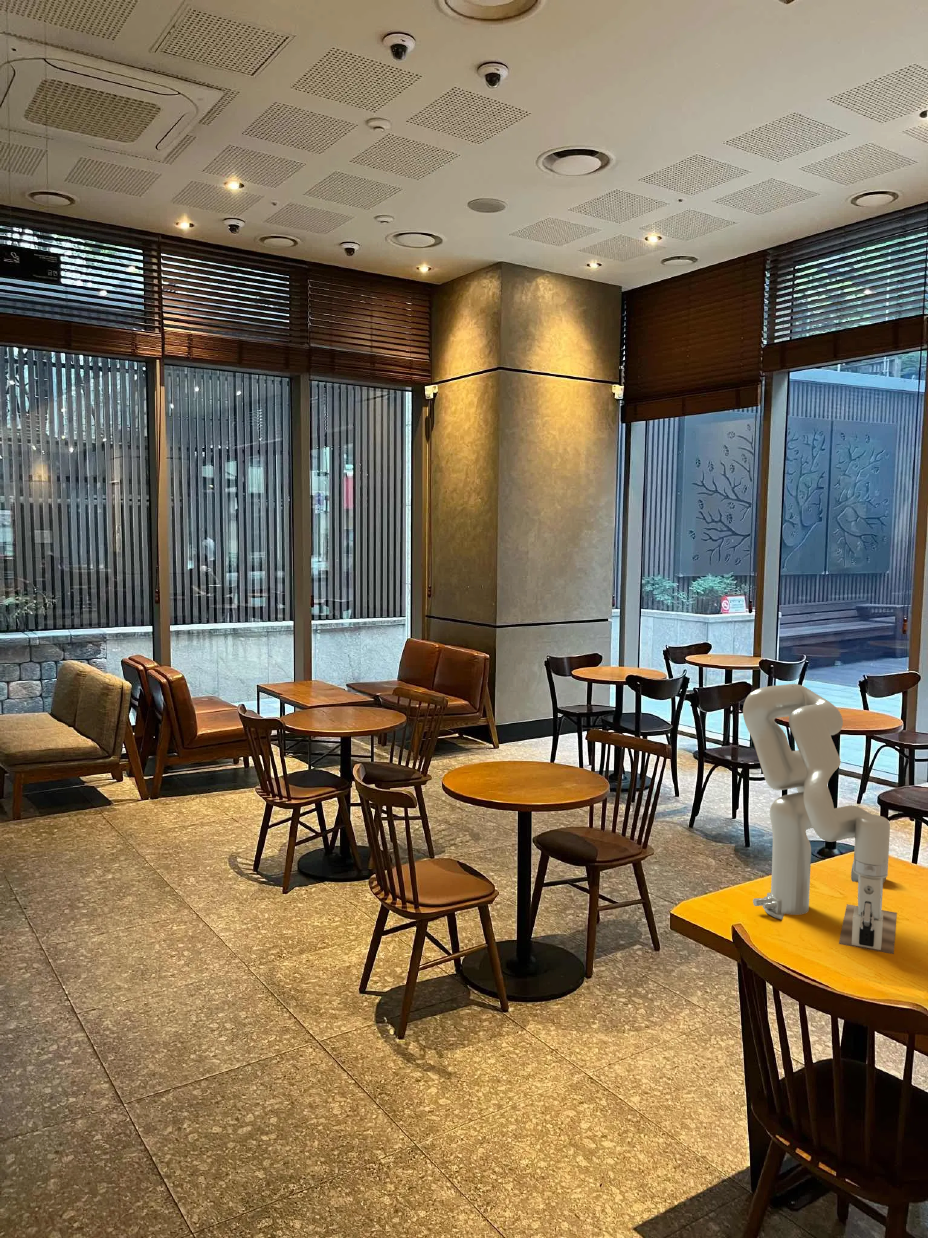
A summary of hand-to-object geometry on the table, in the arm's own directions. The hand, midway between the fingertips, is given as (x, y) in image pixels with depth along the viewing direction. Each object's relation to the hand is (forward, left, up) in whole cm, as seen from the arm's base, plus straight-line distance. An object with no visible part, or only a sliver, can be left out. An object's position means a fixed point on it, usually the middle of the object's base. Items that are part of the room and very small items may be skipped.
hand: (867, 938), depth 224 cm
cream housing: (0, 0, -1) cm, 1 cm away
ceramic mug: (+25, +37, -3) cm, 45 cm away
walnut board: (+5, +7, -2) cm, 9 cm away
